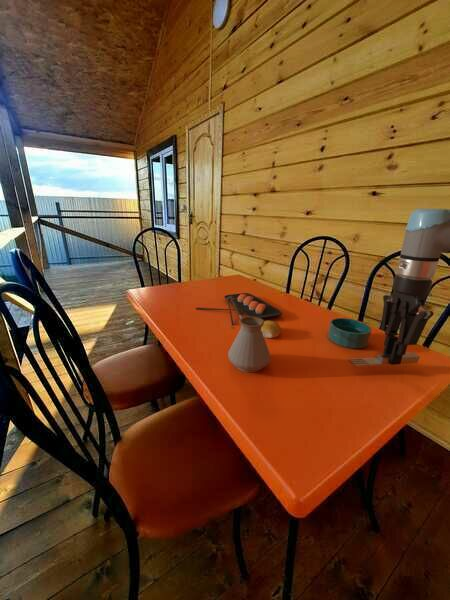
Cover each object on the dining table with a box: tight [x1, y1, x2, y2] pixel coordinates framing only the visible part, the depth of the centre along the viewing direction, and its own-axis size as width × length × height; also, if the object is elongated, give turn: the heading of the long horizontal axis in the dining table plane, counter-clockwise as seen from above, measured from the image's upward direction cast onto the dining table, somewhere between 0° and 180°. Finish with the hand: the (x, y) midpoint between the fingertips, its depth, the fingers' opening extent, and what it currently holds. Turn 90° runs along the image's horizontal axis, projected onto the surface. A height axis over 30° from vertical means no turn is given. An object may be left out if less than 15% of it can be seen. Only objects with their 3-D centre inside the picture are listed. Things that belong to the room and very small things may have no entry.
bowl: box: [327, 317, 372, 350], centre depth 84 cm, size 12×12×6 cm
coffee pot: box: [226, 296, 271, 373], centre depth 71 cm, size 21×12×15 cm, turn 20°
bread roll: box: [261, 320, 282, 339], centre depth 87 cm, size 8×9×4 cm
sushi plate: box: [195, 292, 283, 326], centre depth 107 cm, size 29×30×4 cm
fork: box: [348, 352, 420, 369], centre depth 69 cm, size 19×3×2 cm, turn 97°
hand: (390, 360), depth 69 cm, fingers closed on fork, 2 cm apart
